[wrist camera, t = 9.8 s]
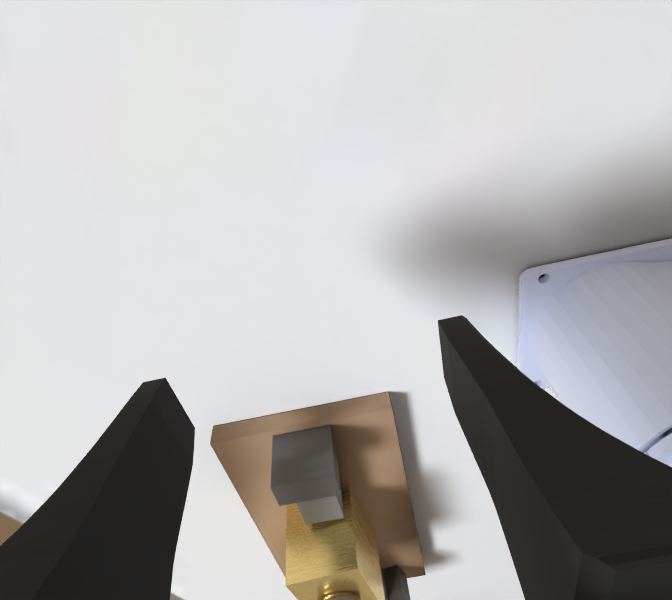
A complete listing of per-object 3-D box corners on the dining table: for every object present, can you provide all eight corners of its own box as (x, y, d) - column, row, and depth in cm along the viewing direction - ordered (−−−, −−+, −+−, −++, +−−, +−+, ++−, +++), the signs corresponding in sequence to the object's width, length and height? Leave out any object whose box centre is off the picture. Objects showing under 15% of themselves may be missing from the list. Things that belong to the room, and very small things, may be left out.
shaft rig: (388, 391, 27) (402, 459, 23) (422, 559, 38) (435, 622, 34) (213, 426, 27) (201, 497, 24) (296, 581, 39) (297, 645, 35)
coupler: (375, 532, 33) (388, 625, 28) (319, 546, 33) (323, 639, 29) (348, 483, 30) (358, 580, 25) (286, 499, 30) (285, 597, 25)
